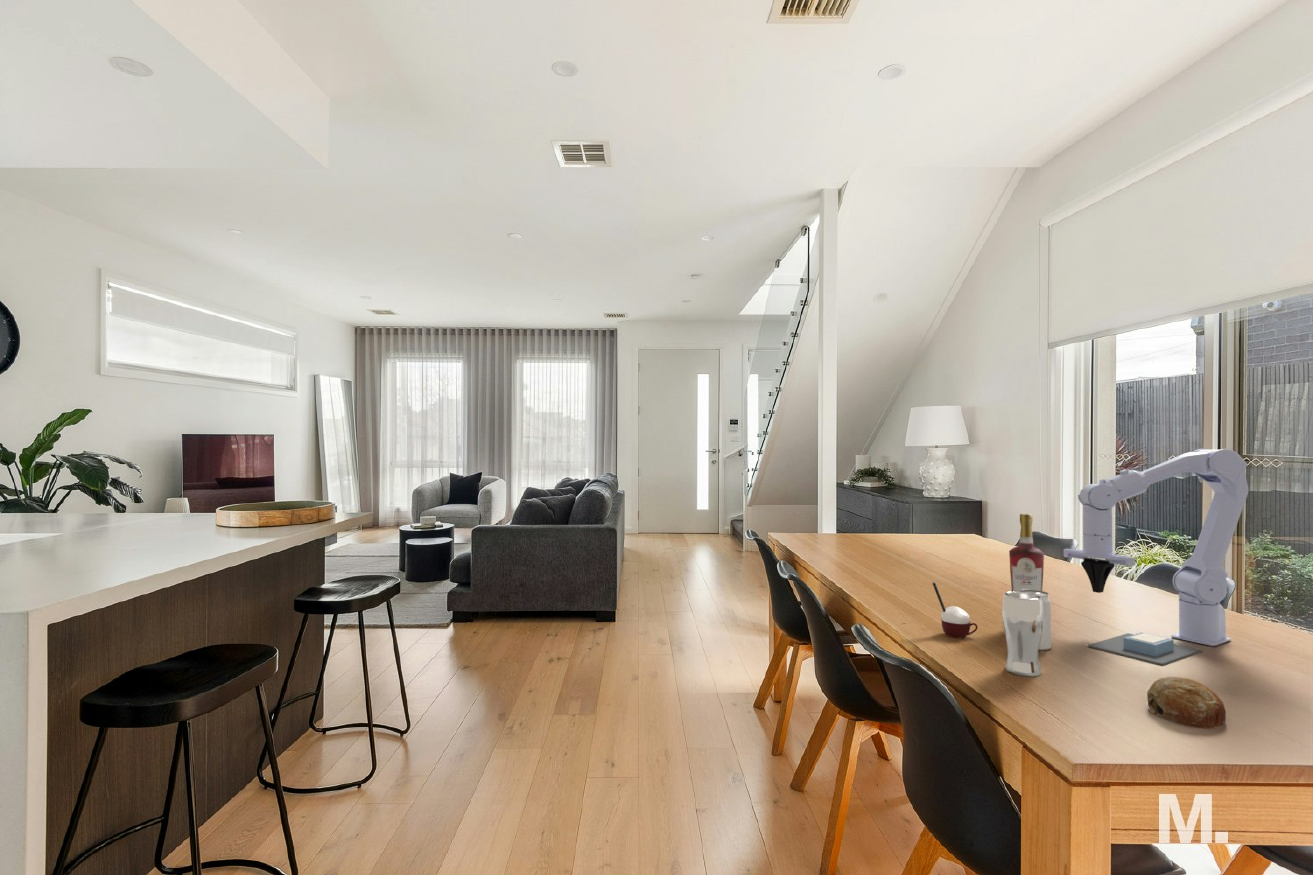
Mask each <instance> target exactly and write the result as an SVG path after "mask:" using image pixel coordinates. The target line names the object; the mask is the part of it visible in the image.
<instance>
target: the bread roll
mask: <svg viewBox="0 0 1313 875" xmlns="http://www.w3.org/2000/svg"><path fill="white" fill-rule="evenodd" d="M1147 706H1148V708H1149V713H1151V714H1154V715H1156V716H1158V717H1161V718H1163V719H1165V720H1167V721H1171V722H1174V723H1175V724H1178V725H1182V726H1185V727H1191V728H1201V729H1213V728H1216V727H1217V728H1218V727H1220V726H1223V725H1224V722H1225V721H1226V718H1227V717H1226V715H1227V712H1226V707H1225V705H1224V702H1223V701H1222V700H1221V699H1220V697H1219V696H1218V695H1217V694H1216V693H1215V692H1214V691H1213V690H1212V689H1211V688H1209V687H1207V686H1206V685H1205V684H1203V683H1200V682H1199V681H1198V680H1193V679H1190V678H1186V677H1178V676H1177V677H1176V676H1169V677H1168V676H1167V677H1162V678H1158V679H1157V680H1155V681H1154V682H1153V683H1152V684H1151V685H1150V687H1149V689H1148V690H1147Z"/></svg>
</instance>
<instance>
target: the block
mask: <svg viewBox="0 0 1313 875" xmlns="http://www.w3.org/2000/svg"><path fill="white" fill-rule="evenodd" d="M1174 640H1175V638H1170V637H1169V638H1167V637H1164V636H1160V635H1155V634H1151V633H1146V632H1138V633H1135V634H1134V635H1131V636H1127V637H1124V649H1127V650H1131V651H1135V652H1139V653H1143V654H1147V655H1151V656H1155V657H1156V656H1159V655H1162V654H1165V653H1168V652H1171V651H1174V644H1175V642H1174Z"/></svg>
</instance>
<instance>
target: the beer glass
mask: <svg viewBox="0 0 1313 875" xmlns="http://www.w3.org/2000/svg"><path fill="white" fill-rule="evenodd" d="M1002 600H1003V601H1002V625H1003V629H1004V635H1005V640H1006V649H1007V656H1006V657H1007V658H1006V663H1005V670H1006V671H1007V672H1008V673H1010V674H1014V675H1017V676H1021V677H1027V678H1028V677H1032V678H1033V677H1034V678H1035V677H1039V676H1041V674H1042V671H1041V666H1040V661H1039V651H1040V650H1039V646H1040V641H1041V636H1042V629H1043V608H1042V597H1041V596H1039V595H1036V594H1032V593H1026V592H1012V591H1007V592H1003V599H1002Z"/></svg>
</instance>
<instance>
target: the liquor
mask: <svg viewBox="0 0 1313 875" xmlns="http://www.w3.org/2000/svg"><path fill="white" fill-rule="evenodd" d="M1033 518H1034V517H1033V514H1030V513H1020V514H1019V523H1020V534H1019V543H1018V544H1019V545H1018V546H1015V547H1013V548H1011V549H1009V550H1008V552H1009V554H1008V555H1009V573H1010V585H1011V592H1019V591H1020V590H1039V591H1043V584H1044V583H1043V582H1044V565H1045V562H1044V560H1045V553H1044V552H1043V551H1041V549H1040V548H1037V547H1034V538H1033V528H1032V527H1033Z"/></svg>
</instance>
